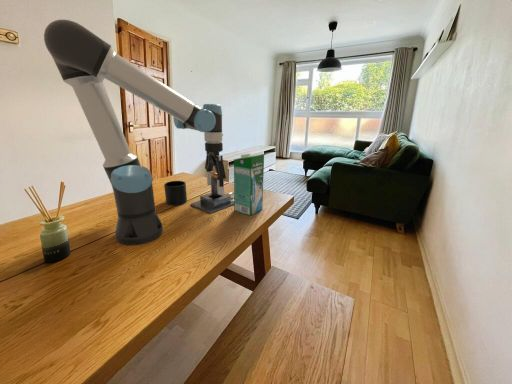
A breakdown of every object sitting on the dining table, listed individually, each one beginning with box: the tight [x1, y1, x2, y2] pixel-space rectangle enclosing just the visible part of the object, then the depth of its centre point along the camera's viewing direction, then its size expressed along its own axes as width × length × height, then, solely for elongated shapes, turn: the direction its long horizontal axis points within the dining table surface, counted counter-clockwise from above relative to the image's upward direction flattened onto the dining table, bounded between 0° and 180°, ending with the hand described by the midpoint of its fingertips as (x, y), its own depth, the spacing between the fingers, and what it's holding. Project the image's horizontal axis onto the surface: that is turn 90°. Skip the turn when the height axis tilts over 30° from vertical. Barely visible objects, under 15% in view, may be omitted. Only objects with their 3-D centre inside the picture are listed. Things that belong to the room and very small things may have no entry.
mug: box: [164, 180, 188, 206], centre depth 116 cm, size 9×12×9 cm
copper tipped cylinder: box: [210, 171, 220, 199], centre depth 112 cm, size 4×4×14 cm
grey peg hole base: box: [190, 191, 234, 214], centre depth 116 cm, size 22×14×4 cm, turn 139°
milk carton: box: [233, 153, 265, 216], centre depth 105 cm, size 9×9×25 cm
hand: (215, 188), depth 113 cm, fingers open, 13 cm apart
